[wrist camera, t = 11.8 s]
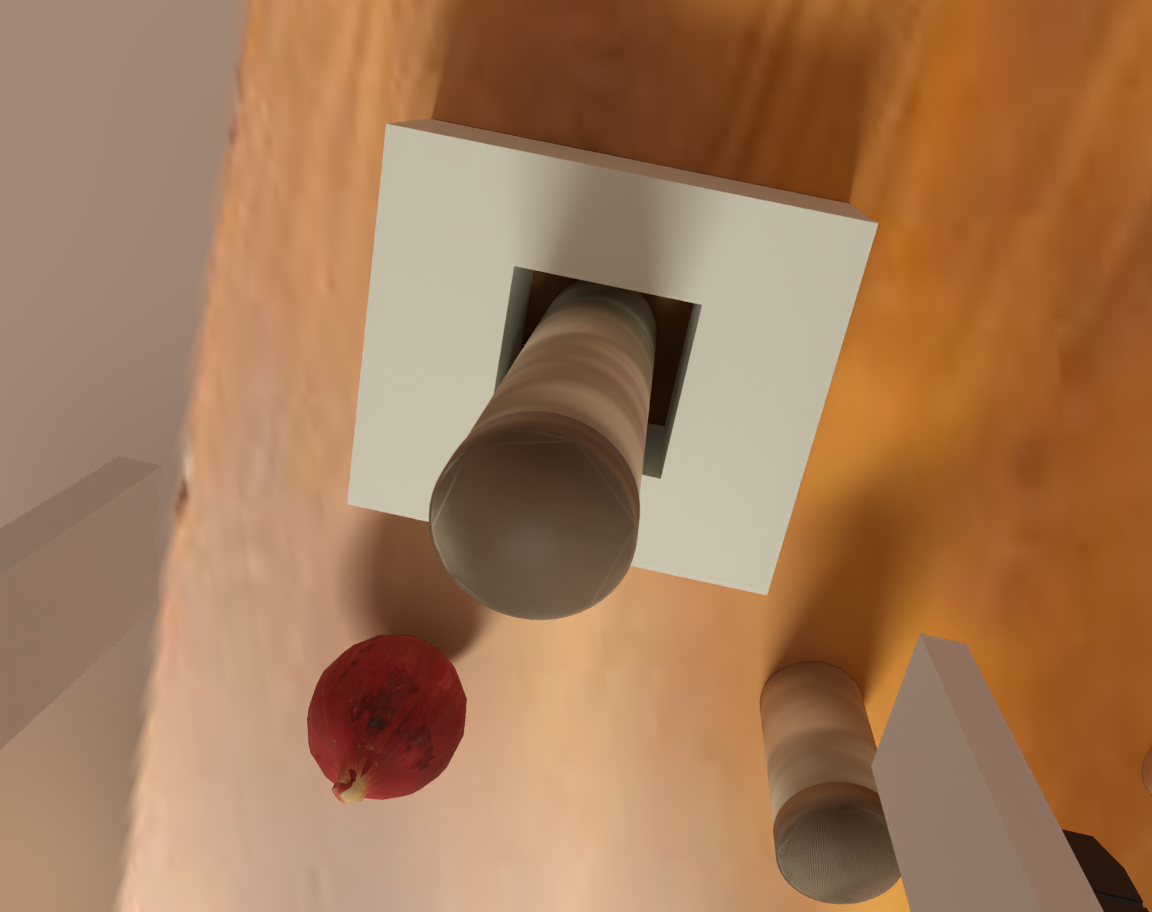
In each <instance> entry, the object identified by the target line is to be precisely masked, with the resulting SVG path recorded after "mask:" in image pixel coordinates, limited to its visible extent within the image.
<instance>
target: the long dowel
mask: <svg viewBox="0 0 1152 912" xmlns="http://www.w3.org/2000/svg"><path fill="white" fill-rule="evenodd" d="M656 341H657V327H656V321H655V317H654V315H653V312H652V310H651V308H650V306H649V304H648V303H647V301H646V300H645V299H644V297H643V296H642V295H641V294H640V293H639V292H638V291H633V290H628V289H623V288H618V287H613V286H609V285H604V284H599V283H594V282H589V281H584V280H579V281H577V282H575V283H573V284H571V285H569V286H568V287H566V288H565V289H564V290H562V291H561V292H560V293H559V294H558V295H557V296H556V298H555V299H554V300H553V302H552V303H551V305H550V306H549V308H548V309H547V311H546V313H545V314H544V316H543V317H542V319H541V321H540V322H539V324H538V325H537V327H536V328H535V330H534V332H533V333H532V335H531V336H530V338H529V340H528V341H527V343H526V344H525V346H524V347H523V349H522V351H521V352H520V354H519V355H518V357H517V358H516V360H515V362H514V363H513V365H512V366H511V368H510V370H509V371H508V373H507V374H506V376H505V377H504V379H503V381H502V382H501V384H500V385H499V387H498V389H497V390H496V392H495V393H494V395H493V396H492V398H491V400H490V401H489V403H488V404H487V406H486V408H485V409H484V411H483V412H482V414H481V415H480V417H479V419H478V420H477V422H476V423H475V425H474V426H473V428H472V430H471V431H470V433H469V434H468V436H467V438H466V439H465V440H464V441H463V442H462V443H461V444H460V445H459V447H458V448H457V449H456V451H455V452H454V453H453V455H452V457H451V458H450V460H449V461H448V463H447V464H446V466H445V467H444V469H443V471H442V472H441V474H440V476H439V478H438V480H437V481H436V484H435V487H434V489H433V492H432V496H431V500H430V505H429V530H430V535H431V540H432V544H433V546H434V549H435V552H436V555H437V557H438V559H439V560H440V562H441V564H442V566H443V568H444V569H445V571H446V572H447V573H448V575H449V576H450V578H451V579H452V580H453V581H454V582H455V583H456V584H457V585H458V587H460V588H461V589H462V590H463V591H464V592H465V593H466V594H467V595H469V596H470V597H472V598H473V599H474V600H476V601H477V602H479V603H481V604H482V605H484V606H486V607H488V608H490V609H492V610H495V611H497V612H499V613H502V614H505V615H509V616H512V617H516V618H523V619H530V620H549V619H558V618H563V617H568V616H571V615H574V614H577V613H580V612H582V611H584V610H586V609H589V608H591V607H592V606H594V605H596V604H597V603H599V602H600V601H602V600H603V599H604V598H605V597H607V596H608V595H609V594H610V593H611V592H612V591H613V590H614V589H615V588H616V587H617V586H618V585H619V583H620V582H621V581H622V579H623V578H624V576H625V575H626V573H627V571H628V569H629V567H630V565H631V563H632V560H633V557H634V554H635V550H636V545H637V538H638V529H639V519H640V500H639V496H640V487H641V478H642V469H643V460H644V451H645V442H646V432H647V423H648V414H649V405H650V396H651V387H652V378H653V368H654V359H655V350H656Z"/></svg>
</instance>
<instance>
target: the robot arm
mask: <svg viewBox="0 0 1152 912" xmlns="http://www.w3.org/2000/svg"><path fill="white" fill-rule="evenodd" d="M161 481H162V466H161V465H156V464H151V463H147V462H143V461H138V460H133V459H128V458H124V457H120V456H119V457H117V458H116V459H114V460H112V461H111V462H109V463H107V464H106V465H104V466H103V467H101V468H99V469H98V470H96V471H94V472H93V473H91V474H90V475H88V476H86V477H84V478H83V479H81V480H79V481H78V482H76V483H74V484H73V485H71V486H69V487H68V488H66V489H65V490H63V491H61V492H60V493H58V494H56V495H55V496H53V497H51V498H50V499H48V500H46V501H45V502H43V503H41V504H40V505H38V506H36V507H35V508H33V509H32V510H30V511H28V512H26V513H25V514H23V515H22V516H20V517H18V518H17V519H15V520H13V521H12V522H10V523H8V524H7V525H5V526H4V527H2V528H0V750H1V749H2V748H3V747H4V746H5V745H6V744H7V743H8V742H9V741H10V740H11V739H12V738H14V736H16V735H17V734H18V733H19V732H20V731H21V730H22V729H23V728H24V727H25V726H26V725H28V724H29V723H30V722H31V721H32V720H33V719H34V718H35V717H36V716H37V715H38V714H39V713H40V712H42V711H43V710H44V709H45V708H46V707H47V706H48V705H49V704H50V703H51V702H52V701H53V700H54V699H56V698H57V697H58V696H59V695H60V694H61V693H62V692H63V691H64V690H65V689H66V688H68V686H70V685H71V684H72V683H73V682H74V681H75V680H76V679H77V678H78V677H79V676H81V675H82V673H84V672H85V671H86V670H87V669H88V668H89V667H90V666H91V665H92V664H93V663H94V662H96V661H97V660H98V659H99V658H100V657H101V656H102V655H103V654H104V653H105V652H106V651H107V650H109V649H110V648H111V647H112V646H113V645H114V644H115V643H116V642H117V641H118V640H119V639H120V638H122V637H123V636H124V635H125V634H126V633H127V632H128V631H129V630H130V629H131V628H132V627H133V626H135V625H136V624H137V623H138V622H139V621H140V620H141V619H142V618H143V617H144V616H145V615H146V614H148V613H149V612H150V611H151V610H152V609H153V608H154V607H155V606H156V605H157V604H158V582H159V548H160V514H161ZM871 768H872V771H873V775H874V779H875V782H876V786H877V790H878V793H879V797H880V801H881V804H882V808H883V812H884V815H885V819H886V823H887V826H888V830H889V834H890V837H891V841H892V845H893V848H894V852H895V856H896V859H897V863H898V866H899V870H900V874H901V877H902V881H903V885H904V888H905V892H906V896H907V899H908V903H909V907H910V910H911V912H1149V911H1148V909H1147V908H1144V907H1143V905H1142V903H1143V901H1142V899H1141V897H1140V895H1139V894H1138V892H1137V890H1136V888H1135V887H1134V885H1133V883H1132V881H1131V880H1130V878H1129V876H1128V874H1127V873H1126V871H1125V869H1124V868H1123V867H1122V866H1121V865H1120V864H1119V863H1118V862H1117V861H1116V860H1115V859H1114V858H1113V857H1112V856H1111V855H1110V854H1109V853H1108V852H1107V851H1106V850H1105V849H1104V848H1103V847H1102V846H1101V844H1100V843H1099V842H1098V841H1097V840H1096V839H1095V838H1094V837H1093V836H1088V835H1084V834H1080V833H1075V832H1071V831H1067V830H1062V829H1061V828H1060V826H1059V824H1058V822H1057V820H1056V818H1055V816H1054V814H1053V812H1052V810H1051V808H1050V806H1049V804H1048V802H1047V800H1046V798H1045V797H1044V795H1043V793H1042V791H1041V789H1040V787H1039V785H1038V783H1037V781H1036V779H1035V777H1034V775H1033V773H1032V771H1031V769H1030V767H1029V765H1028V763H1027V762H1026V760H1025V758H1024V756H1023V754H1022V752H1021V750H1020V748H1019V746H1018V744H1017V742H1016V740H1015V738H1014V736H1013V734H1012V732H1011V730H1010V728H1009V727H1008V725H1007V723H1006V721H1005V719H1004V717H1003V715H1002V713H1001V711H1000V709H999V707H998V705H997V703H996V701H995V699H994V697H993V695H992V693H991V692H990V690H989V688H988V686H987V684H986V682H985V680H984V678H983V676H982V674H981V672H980V670H979V668H978V666H977V664H976V662H975V660H974V658H973V656H972V655H971V653H970V651H969V649H968V647H967V645H966V644H964V643H960V642H955V641H951V640H946V639H942V638H937V637H933V636H928V635H924V634H920V635H919V638H918V641H917V644H916V646H915V649H914V652H913V654H912V657H911V660H910V663H909V665H908V668H907V671H906V673H905V676H904V679H903V681H902V684H901V687H900V690H899V692H898V695H897V698H896V700H895V703H894V706H893V709H892V711H891V714H890V717H889V719H888V722H887V725H886V728H885V730H884V733H883V736H882V738H881V741H880V744H879V747H878V749H877V752H876V755H875V757H874V760H873V763H872V766H871Z"/></svg>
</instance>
